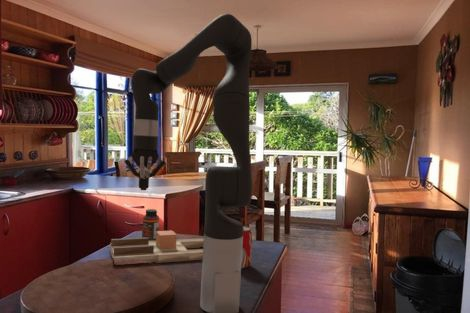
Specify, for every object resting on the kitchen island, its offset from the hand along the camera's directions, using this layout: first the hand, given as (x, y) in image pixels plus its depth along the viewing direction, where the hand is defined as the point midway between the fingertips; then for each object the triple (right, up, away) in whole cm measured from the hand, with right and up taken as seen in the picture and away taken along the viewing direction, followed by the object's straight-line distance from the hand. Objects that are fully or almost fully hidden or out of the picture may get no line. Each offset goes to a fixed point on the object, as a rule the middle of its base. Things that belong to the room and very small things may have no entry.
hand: (143, 189), depth 123 cm
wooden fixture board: (+6, -22, +8) cm, 24 cm away
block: (+6, -19, +8) cm, 22 cm away
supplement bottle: (-3, -21, +23) cm, 31 cm away
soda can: (+30, -24, 0) cm, 38 cm away
